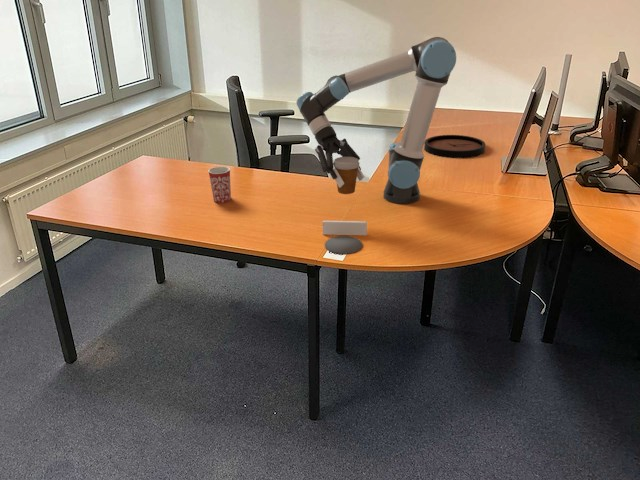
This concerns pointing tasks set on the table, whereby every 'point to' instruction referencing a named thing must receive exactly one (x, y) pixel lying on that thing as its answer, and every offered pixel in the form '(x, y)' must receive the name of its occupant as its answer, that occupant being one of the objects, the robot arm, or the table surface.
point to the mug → (220, 183)
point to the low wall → (344, 227)
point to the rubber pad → (343, 245)
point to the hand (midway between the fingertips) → (352, 182)
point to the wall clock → (454, 146)
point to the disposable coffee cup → (347, 173)
